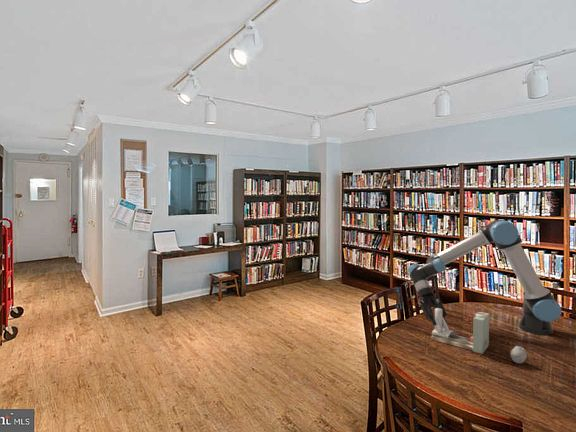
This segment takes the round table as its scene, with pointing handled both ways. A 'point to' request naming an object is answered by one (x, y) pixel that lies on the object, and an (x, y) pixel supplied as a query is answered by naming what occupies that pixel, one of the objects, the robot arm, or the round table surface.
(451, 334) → the carriage
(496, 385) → the round table surface
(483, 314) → the gauge cabinet
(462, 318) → the round table surface
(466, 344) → the rail track
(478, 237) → the robot arm
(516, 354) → the grey round lump
